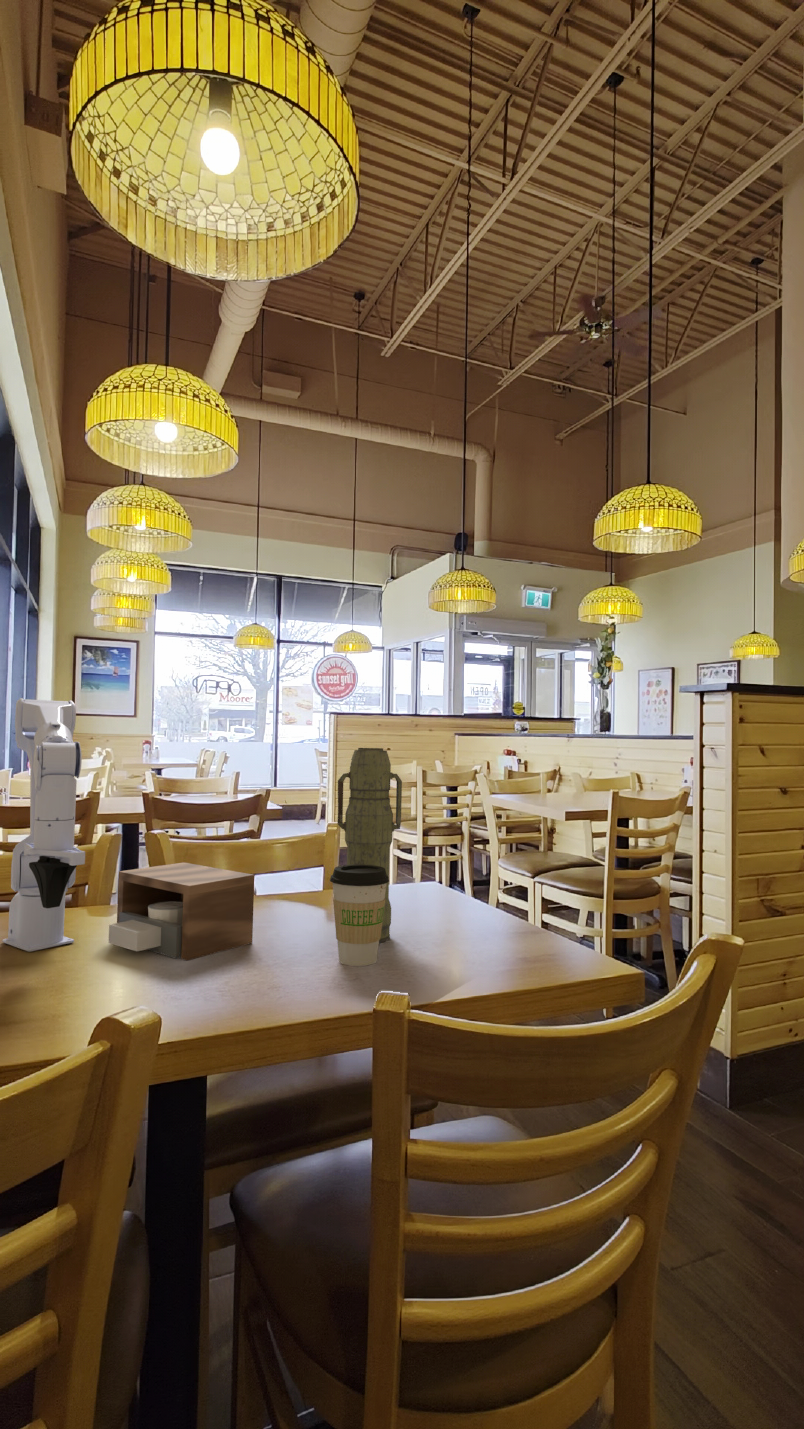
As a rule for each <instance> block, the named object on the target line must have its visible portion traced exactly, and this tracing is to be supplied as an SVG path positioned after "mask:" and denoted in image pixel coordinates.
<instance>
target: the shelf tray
mask: <svg viewBox="0 0 804 1429" xmlns="http://www.w3.org/2000/svg"><path fill="white" fill-rule="evenodd" d="M108 944H112V945H115V946H117V947H121V948H123V949H124V948H125V949H127V950H129V951H130V950H131V951H133V952H140V951H144V950H148V951H150V952H154V953H158V954H160V955H164V956H167V957H170V958H174V959H177V958H181V949H182V925H178V924H174V923H170V922H166V921H162V920H158V919H153V918H150V917H147V916H143V915H139V914H135V913H131V912H127V911H123V912H119V923H117V922H115V923H110V924H109V925H108Z"/></svg>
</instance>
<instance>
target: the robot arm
mask: <svg viewBox="0 0 804 1429" xmlns="http://www.w3.org/2000/svg"><path fill="white" fill-rule="evenodd" d="M76 708H77V706H76V704H75V702H74V701H73V700H47V699H27V698H25V699H24V698H23V697H20V698H19V699H18V700H17V701H16V703H15V716H14V717H15V719H14V720H15V721H14V724H15V725H14V728H15V742H16V747H17V748H18V749H20V750H22V751H23V752H25V753H26V755H27V757H28V762H29V766H30V769H29V770H30V776H29V778H30V779H29V780H30V790H29V791H30V792H29V796H30V798H29V799H30V803H29V804H30V805H29V807H30V808H29V811H30V812H29V814H30V816H29V818H30V819H29V820H30V821H29V822H30V824H29V826H30V827H29V835H28V836H27V837H25V838H24V839H22V840H21V841H19V842H17V843H16V845H15V846H14V848H13V849H12V858H11V869H10V870H11V871H10V872H11V873H10V888H11V889H12V890H13V892H14V893H15V892H17V893H16V894H15V895H14V896H13V897H12V899H11V901H10V903H9V908H8V910H9V911H8V928H7V929H8V931H7V932H8V933H7V938H4V939H2V943H4V944H7V945H8V946H9V945H10V946H12V947H15V948H18V949H21V950H23V951H25V952H36V951H39V950H45V949H49V948H53V947H58V946H62V945H66V944H67V945H69V944H72V943H73V944H74V943H75V939H74V938H70V937H67V936H66V935H64V932H65V912H66V911H65V910H66V909H65V908H66V907H65V906H66V893H67V892H68V888H69V889H70V888H72V886H74V884H75V882H76V873H77V867H78V865H79V866H82V865H86V851H85V850H81V849H80V848H78V847H77V846H75V833H76V832H75V827H76V806H77V805H76V804H77V803H76V802H77V782H78V781H77V779H79V778H80V774H81V770H82V760H83V758H82V757H83V755H82V753H83V752H82V748H81V747H82V746H81V742H80V741H74V739H73V737H74V731H75V727H76V719H77V709H76ZM75 777H76V778H77V779H76V778H75Z"/></svg>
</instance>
